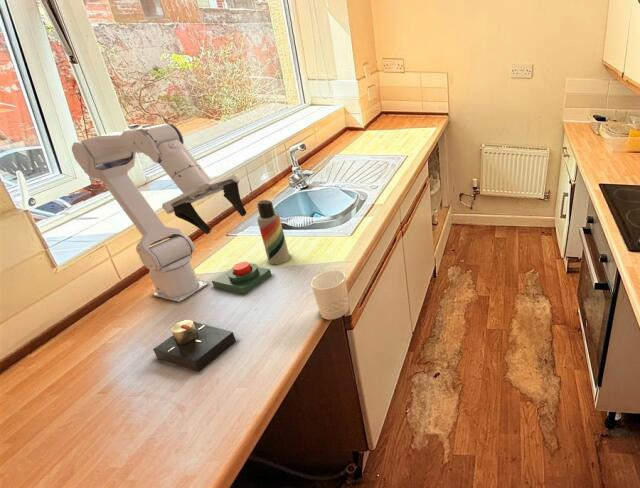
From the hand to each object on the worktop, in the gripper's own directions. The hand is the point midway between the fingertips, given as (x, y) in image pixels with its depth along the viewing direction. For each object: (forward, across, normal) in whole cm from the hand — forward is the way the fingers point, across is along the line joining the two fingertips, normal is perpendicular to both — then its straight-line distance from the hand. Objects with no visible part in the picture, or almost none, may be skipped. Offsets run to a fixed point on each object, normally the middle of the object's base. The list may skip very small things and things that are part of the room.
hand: (227, 223), depth 88 cm
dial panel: (+19, -16, +17) cm, 30 cm away
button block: (+10, +3, +33) cm, 34 cm away
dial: (+15, -16, +17) cm, 28 cm away
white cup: (+31, +9, +8) cm, 33 cm away
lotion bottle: (+10, +15, +35) cm, 39 cm away
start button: (+8, +4, +30) cm, 31 cm away
